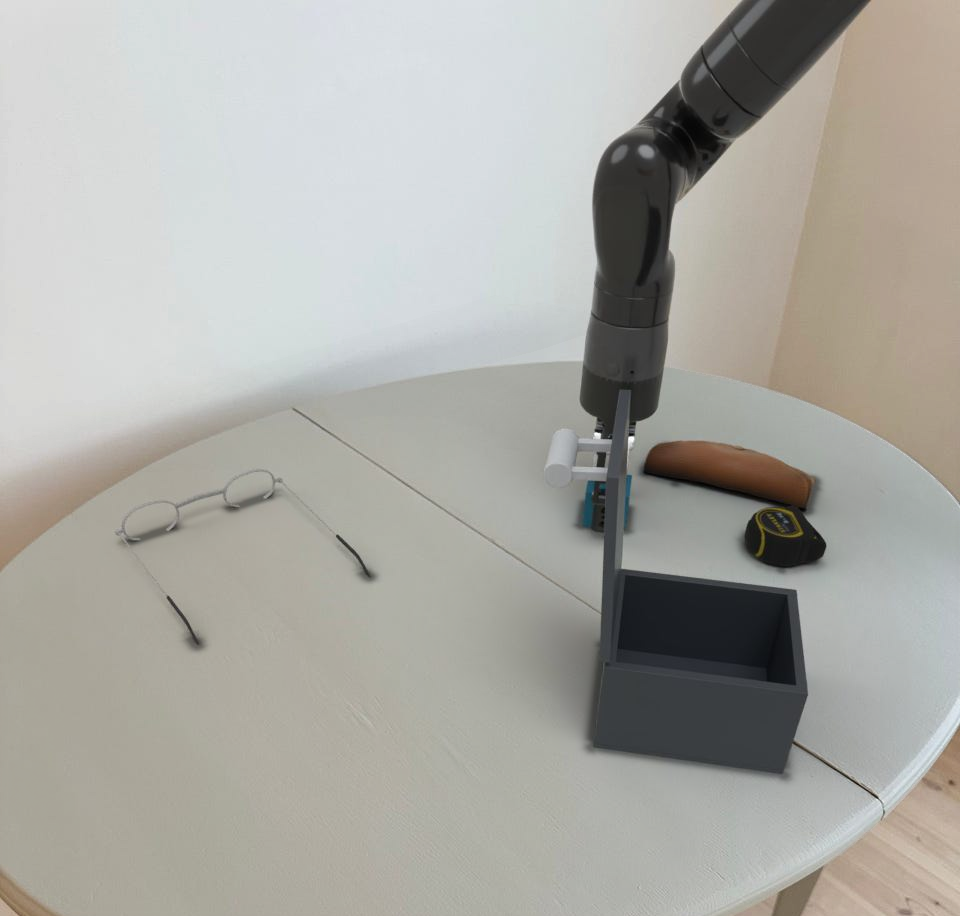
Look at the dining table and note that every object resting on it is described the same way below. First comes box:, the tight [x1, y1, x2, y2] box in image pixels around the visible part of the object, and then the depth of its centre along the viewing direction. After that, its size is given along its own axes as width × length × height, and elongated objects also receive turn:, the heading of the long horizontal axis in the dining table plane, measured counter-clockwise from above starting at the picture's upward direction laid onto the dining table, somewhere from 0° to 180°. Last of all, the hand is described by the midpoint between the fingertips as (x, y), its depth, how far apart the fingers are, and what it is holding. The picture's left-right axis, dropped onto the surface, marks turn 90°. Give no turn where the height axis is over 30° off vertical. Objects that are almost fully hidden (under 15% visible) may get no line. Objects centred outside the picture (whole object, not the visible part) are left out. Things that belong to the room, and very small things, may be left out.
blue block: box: [581, 474, 633, 532], centre depth 102 cm, size 4×4×4 cm
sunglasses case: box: [643, 440, 816, 512], centre depth 109 cm, size 18×7×7 cm
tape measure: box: [744, 505, 827, 567], centre depth 98 cm, size 7×7×4 cm
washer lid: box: [542, 390, 631, 663], centre depth 72 cm, size 15×13×5 cm
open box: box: [592, 568, 809, 775], centre depth 79 cm, size 15×13×9 cm
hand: (605, 508), depth 102 cm, fingers open, 8 cm apart
